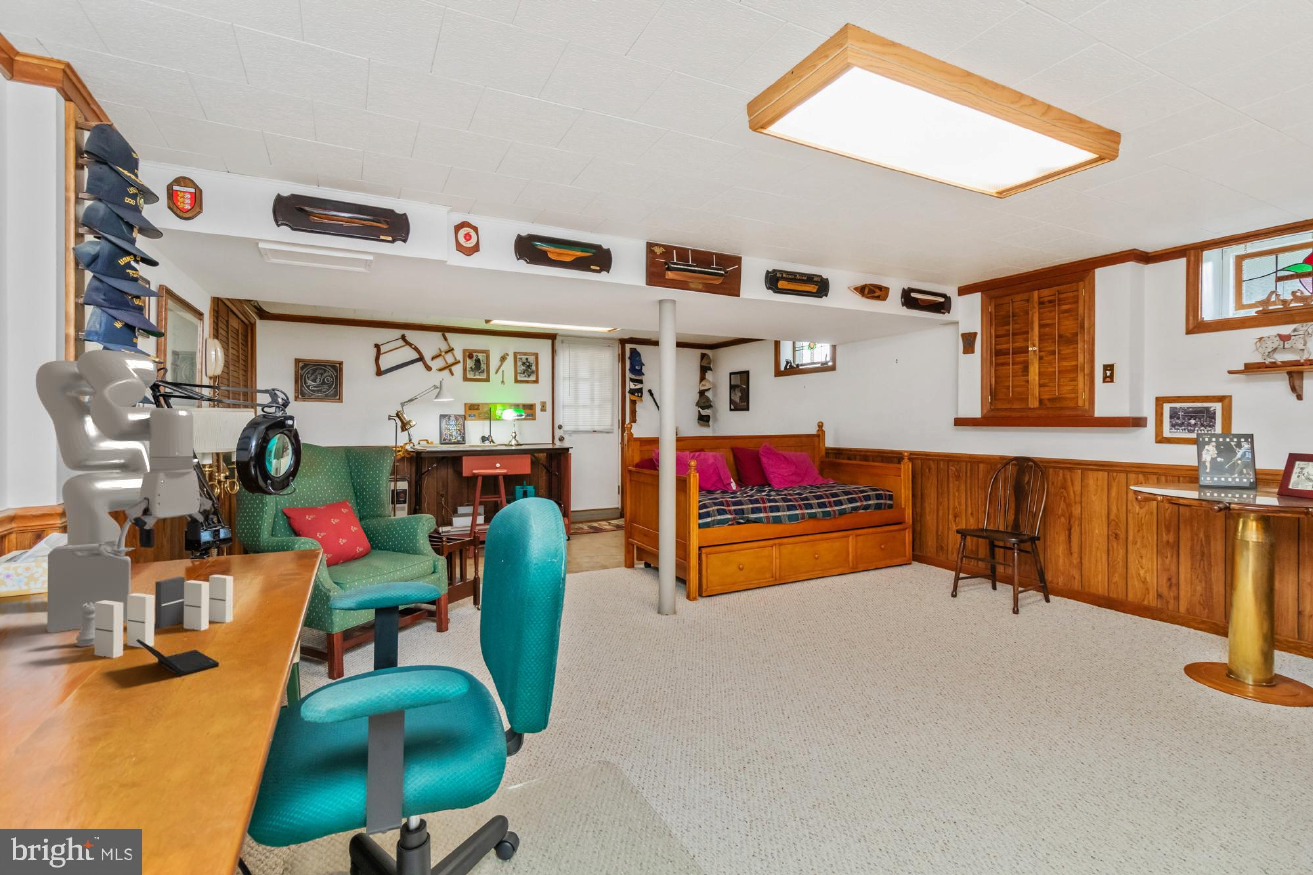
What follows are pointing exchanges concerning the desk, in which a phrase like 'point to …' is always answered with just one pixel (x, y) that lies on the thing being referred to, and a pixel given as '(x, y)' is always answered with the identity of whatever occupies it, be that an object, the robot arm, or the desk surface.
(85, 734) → the desk surface
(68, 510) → the robot arm
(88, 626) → the rook chess piece
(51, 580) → the fuel canister
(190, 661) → the handheld gaming console
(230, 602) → the domino
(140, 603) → the domino
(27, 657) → the desk surface
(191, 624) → the domino
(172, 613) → the domino
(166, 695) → the desk surface
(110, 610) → the domino
